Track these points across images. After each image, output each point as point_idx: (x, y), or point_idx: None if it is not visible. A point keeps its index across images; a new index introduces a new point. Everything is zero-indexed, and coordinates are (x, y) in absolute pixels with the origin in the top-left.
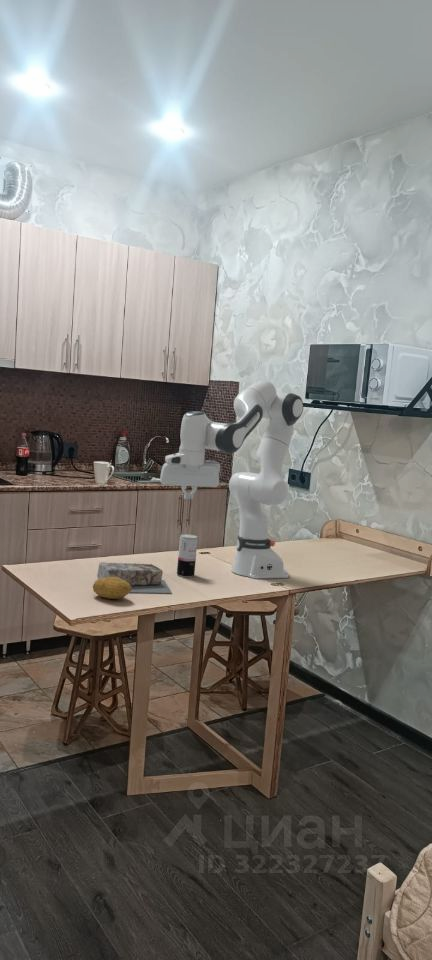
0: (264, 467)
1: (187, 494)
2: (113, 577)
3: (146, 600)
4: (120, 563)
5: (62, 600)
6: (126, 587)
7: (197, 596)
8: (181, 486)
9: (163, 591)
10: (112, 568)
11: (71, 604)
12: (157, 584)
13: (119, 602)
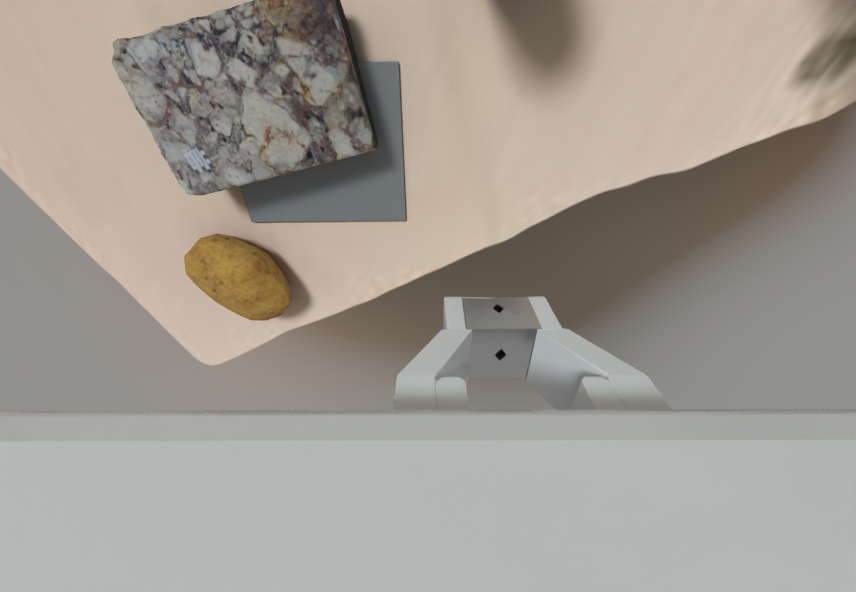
0: None
1: (475, 374)
2: (228, 291)
3: (337, 274)
4: (196, 33)
5: (149, 288)
6: (277, 315)
7: (472, 234)
8: (395, 399)
9: (383, 209)
10: (195, 177)
11: (180, 311)
12: None
13: None
